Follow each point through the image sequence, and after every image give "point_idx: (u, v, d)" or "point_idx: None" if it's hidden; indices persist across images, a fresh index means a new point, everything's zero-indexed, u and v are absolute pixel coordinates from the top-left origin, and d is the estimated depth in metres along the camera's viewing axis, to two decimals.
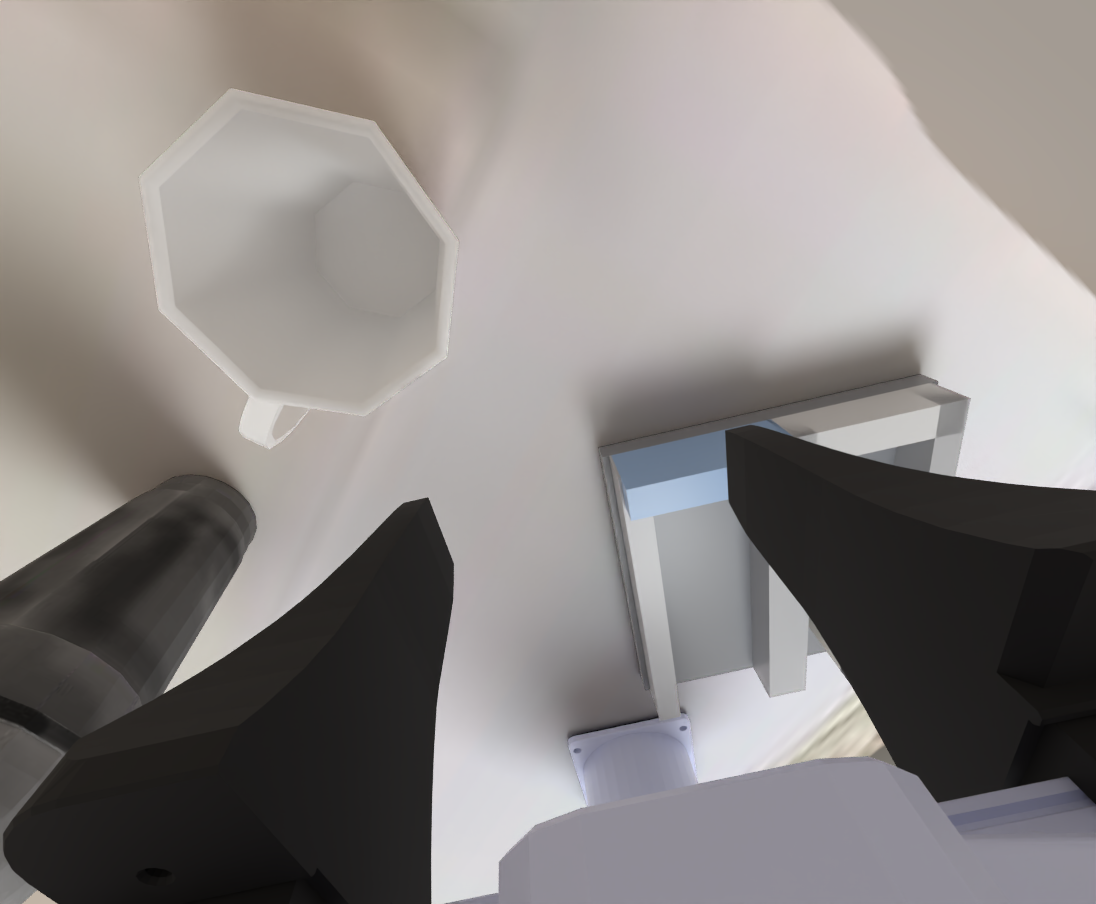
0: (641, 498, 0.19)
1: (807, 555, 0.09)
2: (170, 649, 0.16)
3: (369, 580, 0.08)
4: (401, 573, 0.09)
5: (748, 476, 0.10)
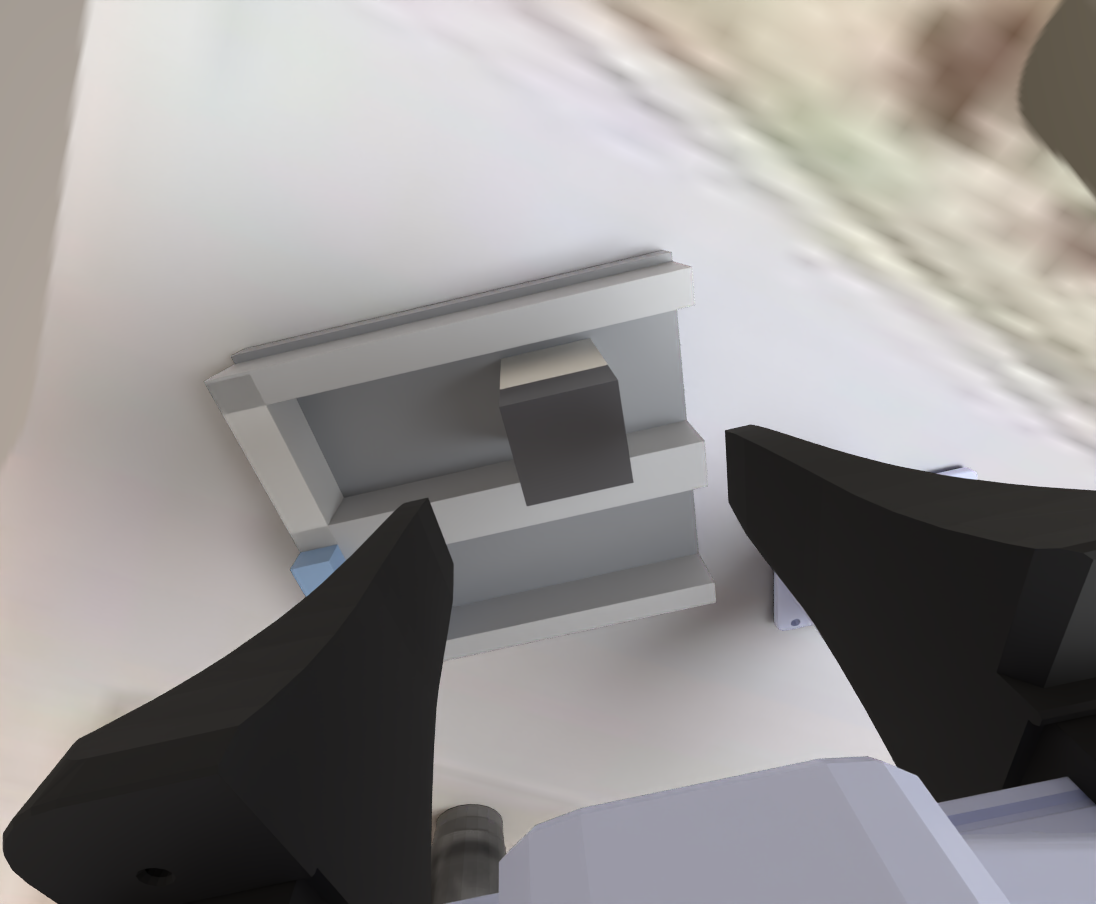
0: None
1: (807, 555, 0.09)
2: None
3: (369, 580, 0.08)
4: (401, 573, 0.09)
5: (748, 476, 0.10)
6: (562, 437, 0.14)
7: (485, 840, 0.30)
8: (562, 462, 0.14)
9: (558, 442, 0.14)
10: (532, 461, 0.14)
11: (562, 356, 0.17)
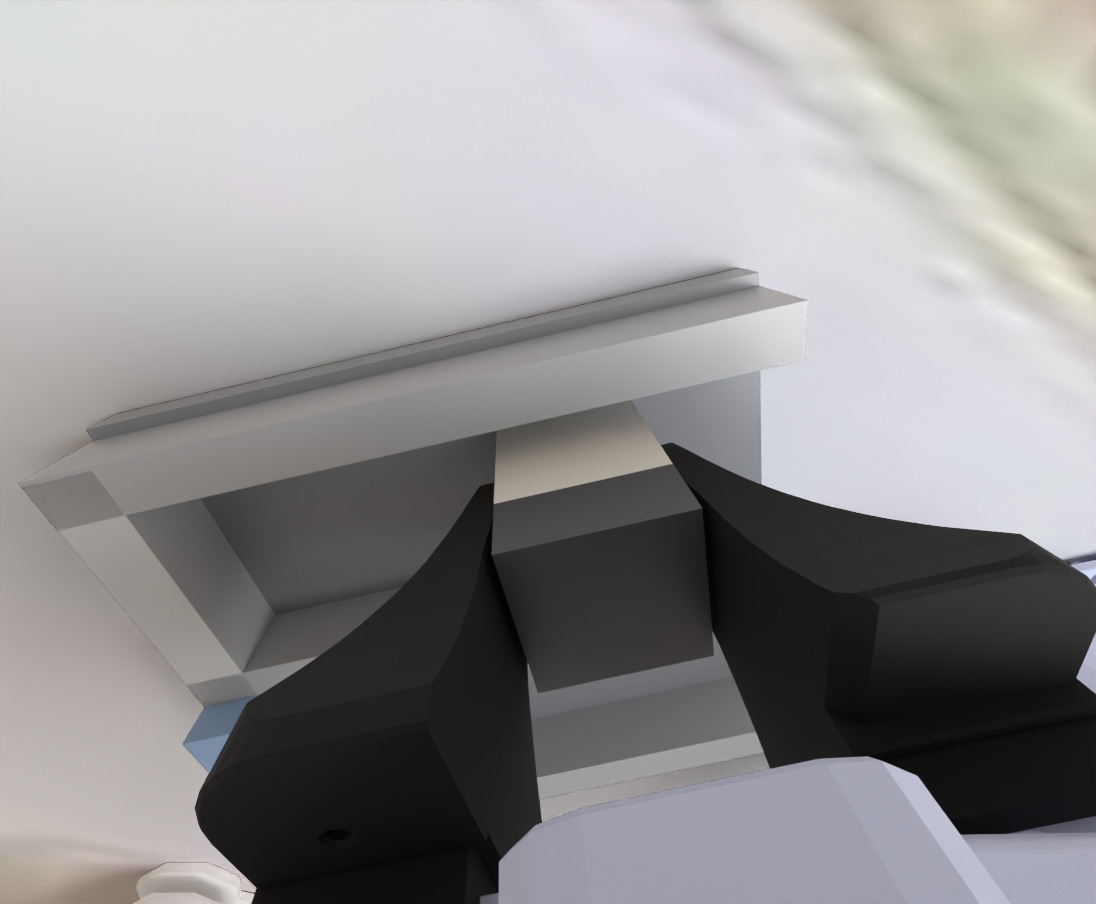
0: None
1: (708, 577, 0.09)
2: None
3: (479, 556, 0.08)
4: None
5: None
6: (600, 596, 0.08)
7: None
8: (599, 632, 0.09)
9: (593, 603, 0.08)
10: (548, 632, 0.08)
11: (591, 434, 0.11)
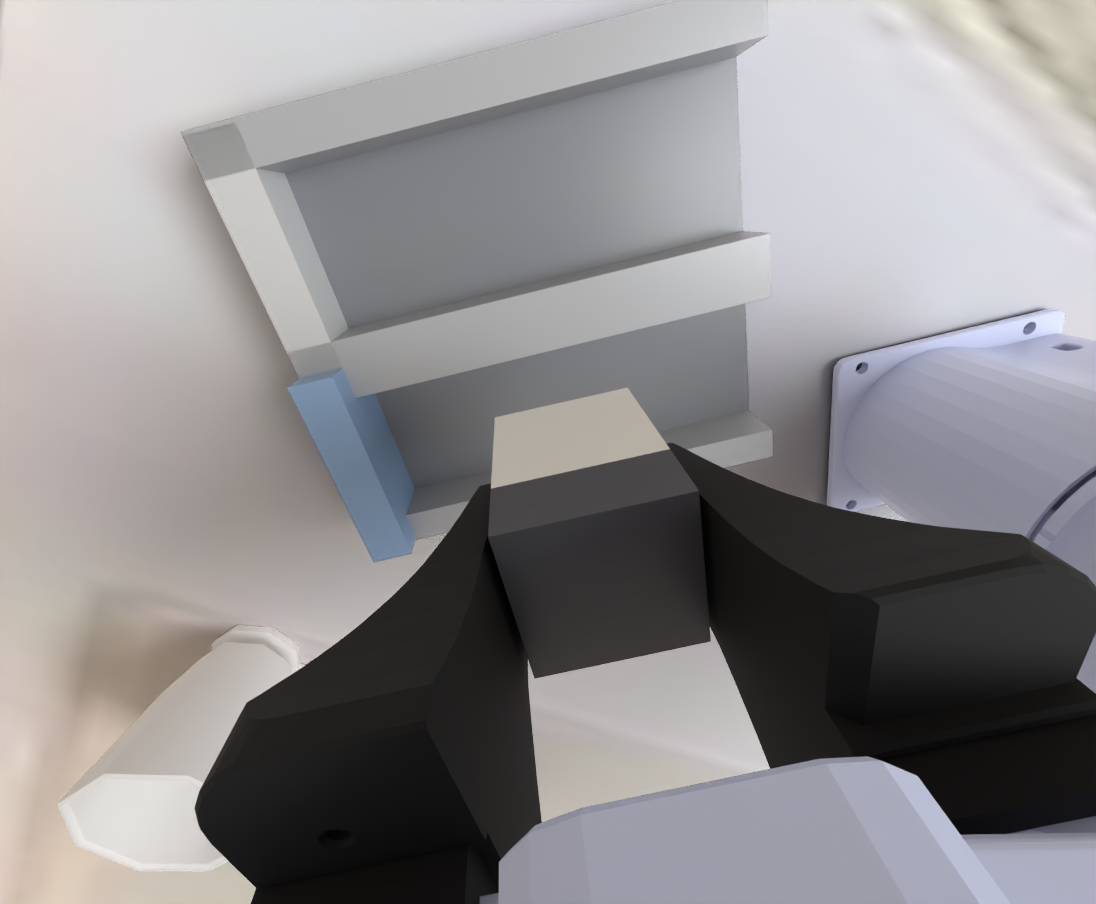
0: (382, 548, 0.18)
1: (708, 577, 0.09)
2: None
3: (478, 556, 0.08)
4: None
5: None
6: (597, 580, 0.08)
7: None
8: (595, 616, 0.09)
9: (590, 587, 0.08)
10: (544, 615, 0.09)
11: (589, 421, 0.11)
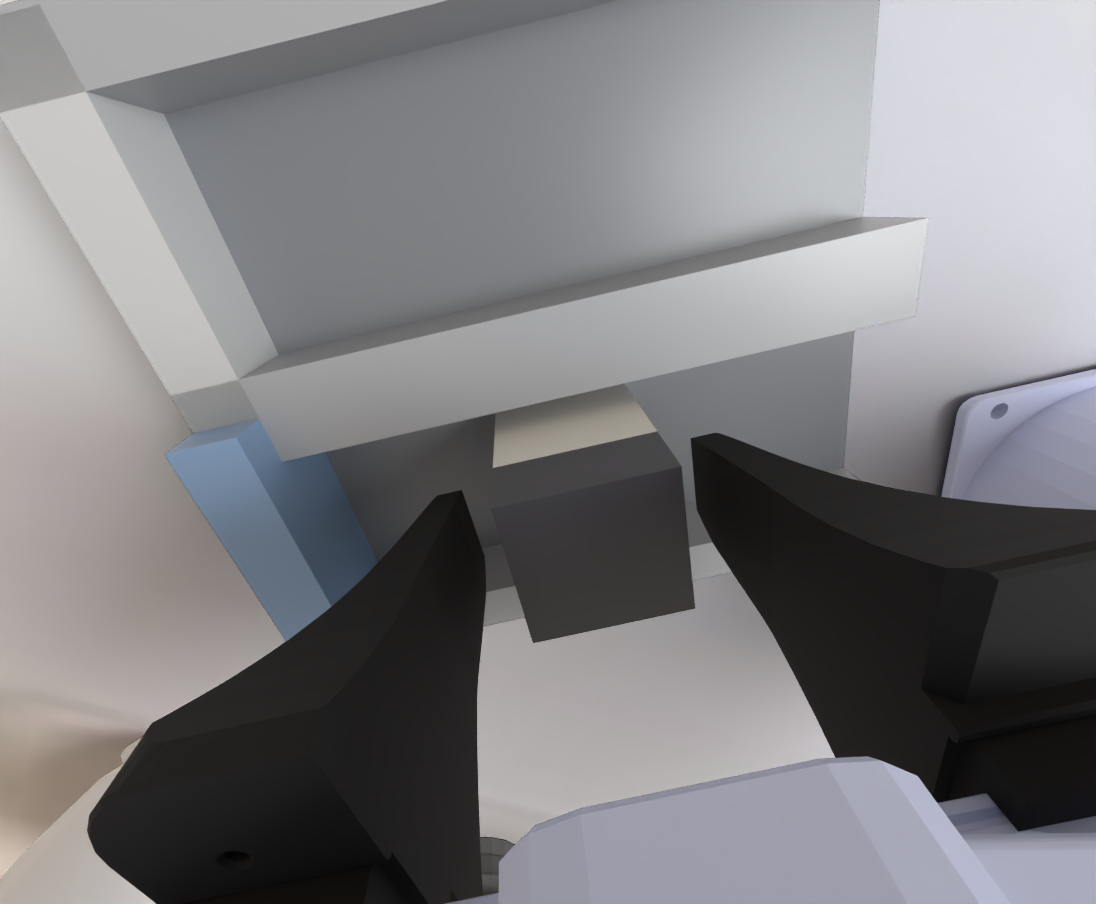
0: None
1: (763, 564, 0.09)
2: None
3: (417, 569, 0.08)
4: (443, 564, 0.09)
5: (711, 484, 0.10)
6: (590, 549, 0.09)
7: None
8: (589, 583, 0.09)
9: (583, 556, 0.09)
10: (542, 583, 0.09)
11: (584, 408, 0.12)
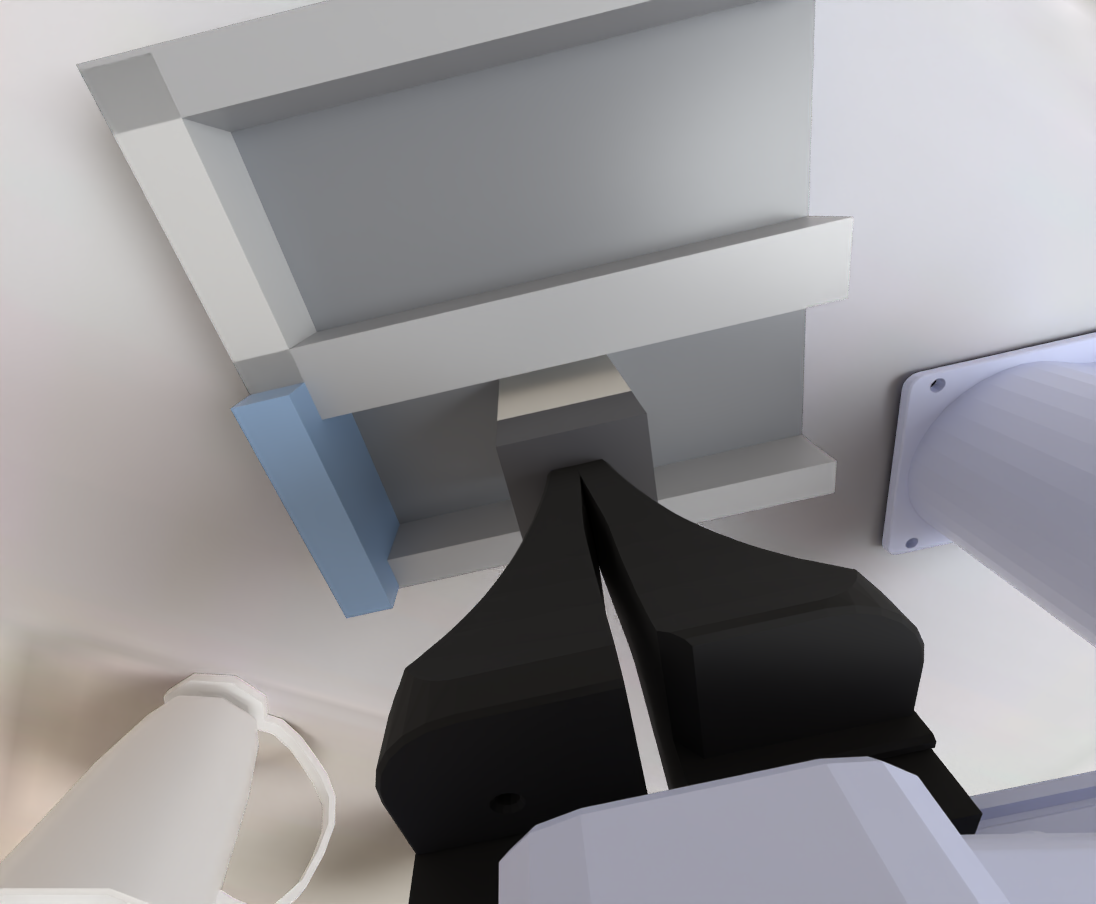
0: (356, 601, 0.15)
1: (619, 596, 0.09)
2: None
3: (581, 533, 0.08)
4: (586, 532, 0.09)
5: (589, 512, 0.10)
6: None
7: None
8: None
9: None
10: None
11: (573, 377, 0.14)
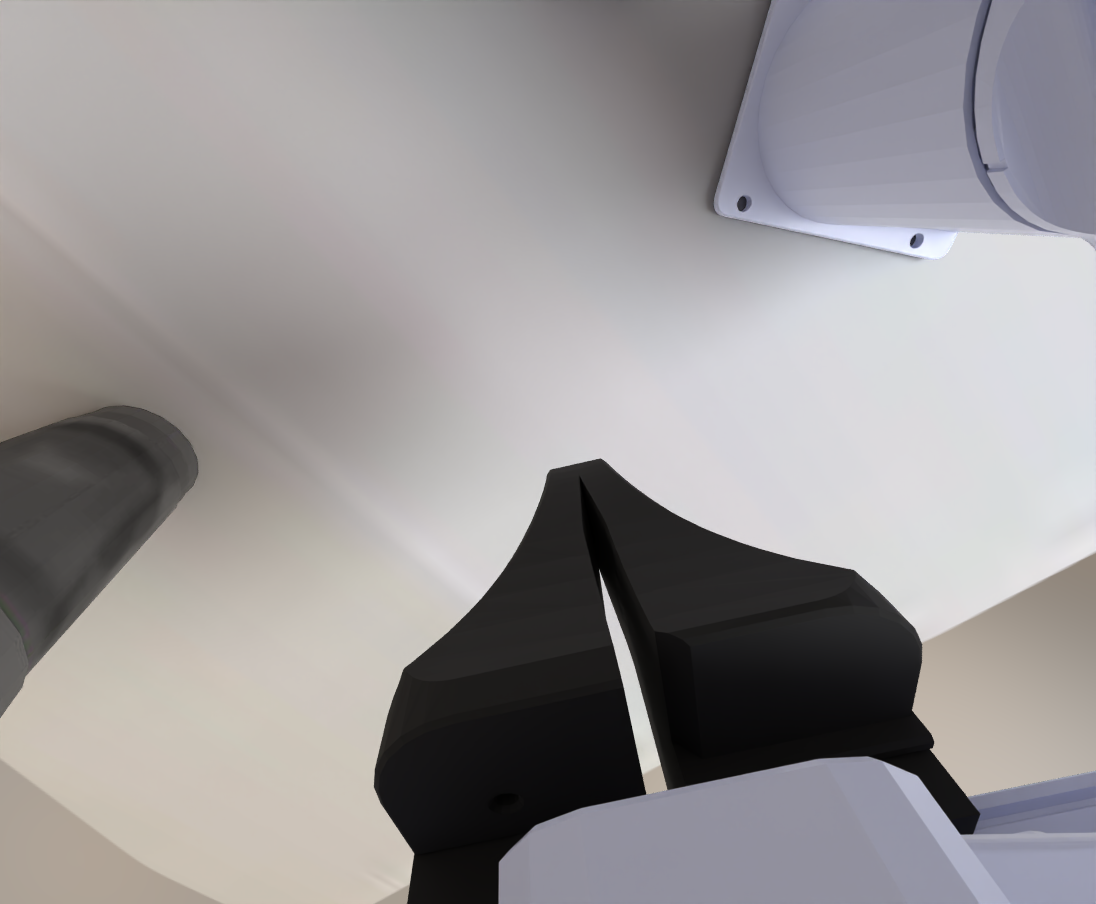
0: None
1: (618, 596, 0.09)
2: None
3: (580, 533, 0.08)
4: (586, 532, 0.09)
5: (588, 512, 0.10)
6: None
7: (142, 444, 0.18)
8: None
9: None
10: None
11: None
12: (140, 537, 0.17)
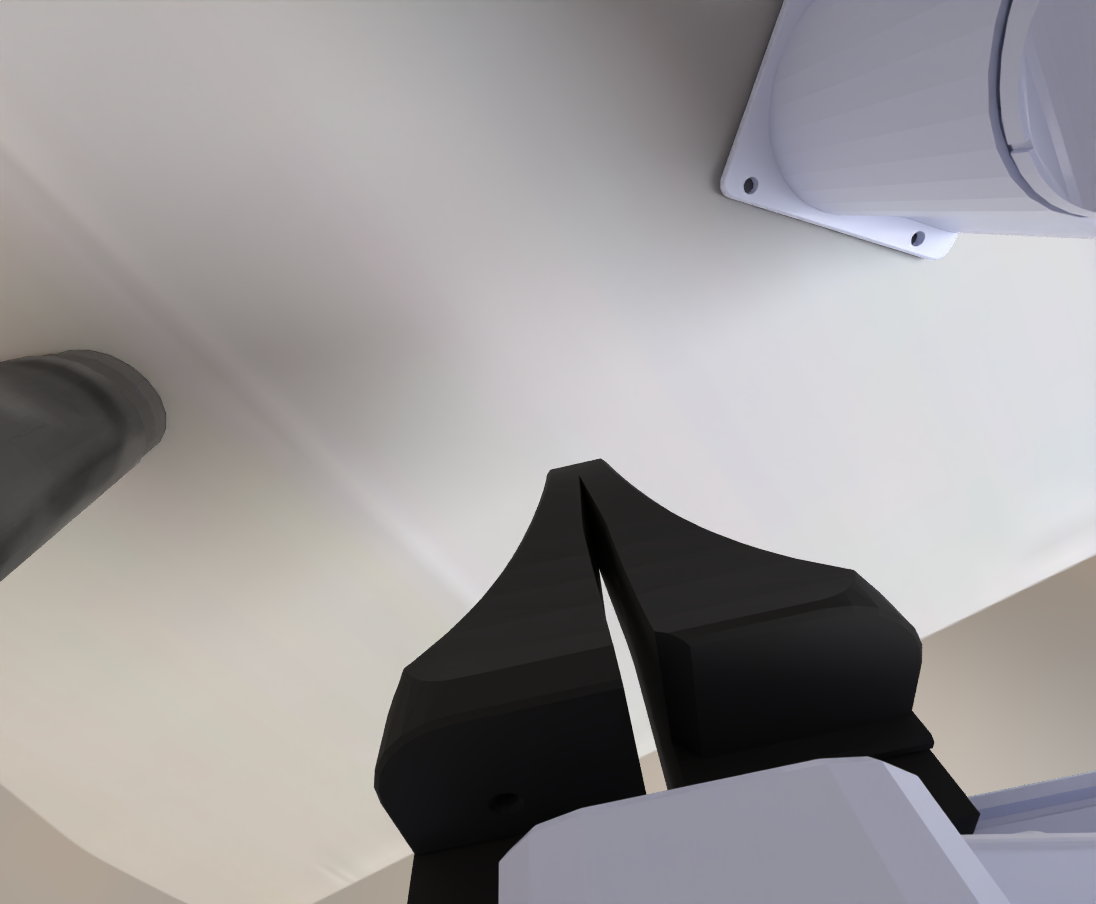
0: None
1: (618, 596, 0.09)
2: None
3: (581, 533, 0.08)
4: (586, 532, 0.09)
5: (588, 512, 0.10)
6: None
7: (106, 390, 0.17)
8: None
9: None
10: None
11: None
12: (96, 487, 0.16)
